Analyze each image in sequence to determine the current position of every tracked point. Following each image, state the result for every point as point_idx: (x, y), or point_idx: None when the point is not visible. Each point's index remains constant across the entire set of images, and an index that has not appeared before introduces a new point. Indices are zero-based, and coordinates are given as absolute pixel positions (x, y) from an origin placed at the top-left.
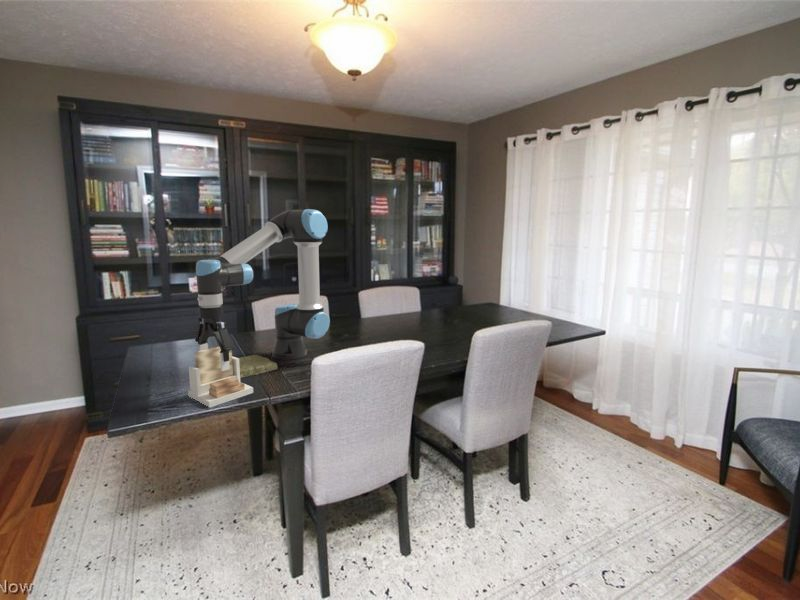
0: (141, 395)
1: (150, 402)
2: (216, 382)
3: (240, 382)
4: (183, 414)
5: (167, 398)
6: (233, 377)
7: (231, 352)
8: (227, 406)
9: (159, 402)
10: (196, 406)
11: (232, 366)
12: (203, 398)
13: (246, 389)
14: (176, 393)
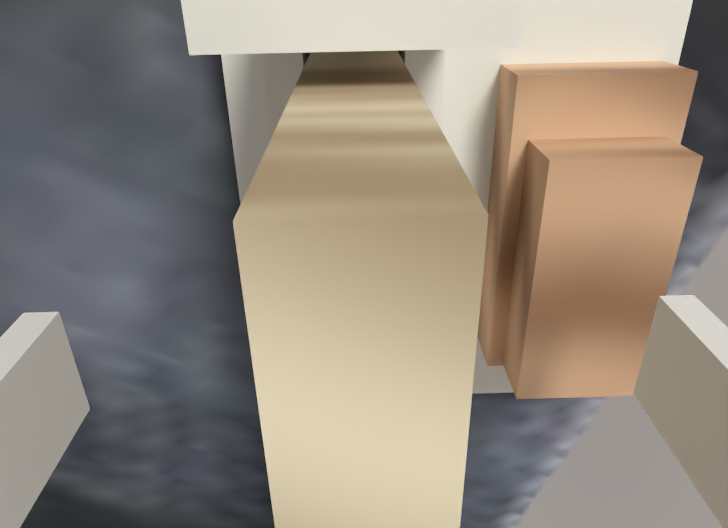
0: (27, 519)
1: (194, 521)
2: (548, 350)
3: (617, 75)
4: (530, 479)
5: (197, 452)
6: (440, 67)
7: (438, 139)
8: (686, 276)
9: (233, 496)
10: (486, 398)
11: (404, 67)
12: (508, 388)
13: (680, 45)
14: (138, 390)
